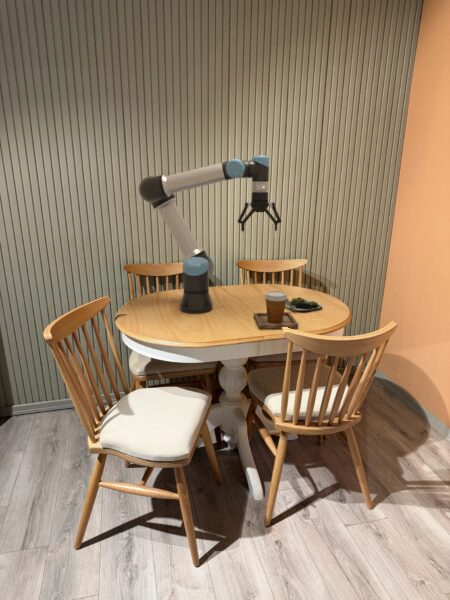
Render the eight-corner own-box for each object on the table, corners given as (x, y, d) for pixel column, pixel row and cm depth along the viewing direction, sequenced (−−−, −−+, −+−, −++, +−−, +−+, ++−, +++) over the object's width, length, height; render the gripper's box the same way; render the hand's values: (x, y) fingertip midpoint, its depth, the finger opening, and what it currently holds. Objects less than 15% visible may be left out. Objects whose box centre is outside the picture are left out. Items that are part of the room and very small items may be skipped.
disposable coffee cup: (287, 324, 171) (289, 296, 168) (264, 324, 171) (265, 296, 168) (284, 317, 180) (286, 290, 177) (262, 317, 181) (263, 290, 177)
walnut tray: (259, 329, 168) (259, 325, 167) (253, 317, 183) (253, 312, 183) (298, 328, 169) (298, 324, 168) (289, 316, 184) (289, 312, 184)
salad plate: (271, 304, 203) (272, 295, 202) (300, 299, 211) (301, 290, 210) (297, 315, 187) (297, 305, 185) (327, 309, 195) (327, 300, 194)
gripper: (233, 191, 185) (233, 239, 191) (288, 191, 187) (286, 238, 193) (232, 191, 192) (231, 237, 198) (285, 191, 194) (283, 236, 200)
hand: (258, 238), depth 196 cm, fingers open, 13 cm apart
